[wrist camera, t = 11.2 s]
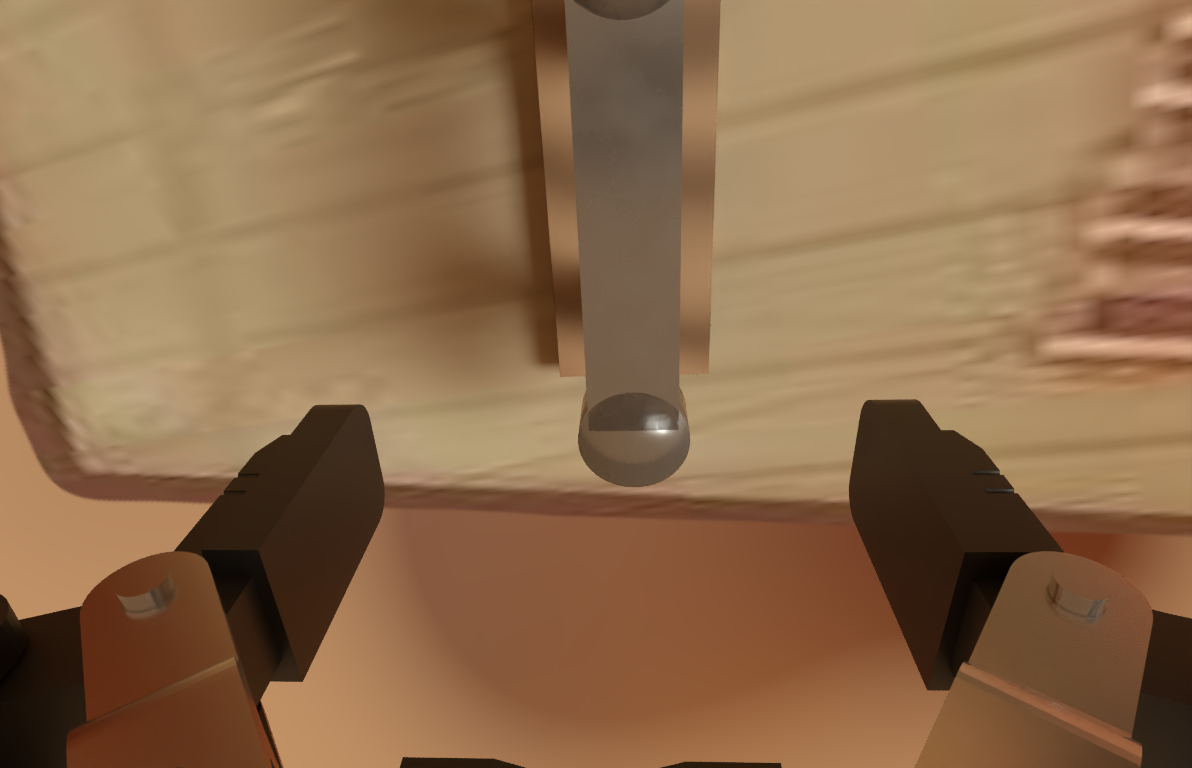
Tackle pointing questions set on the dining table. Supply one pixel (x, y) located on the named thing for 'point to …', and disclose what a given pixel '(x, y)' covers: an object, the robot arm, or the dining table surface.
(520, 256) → the dining table surface
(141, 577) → the robot arm
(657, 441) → the grey knobbed bar
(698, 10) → the peg stand
